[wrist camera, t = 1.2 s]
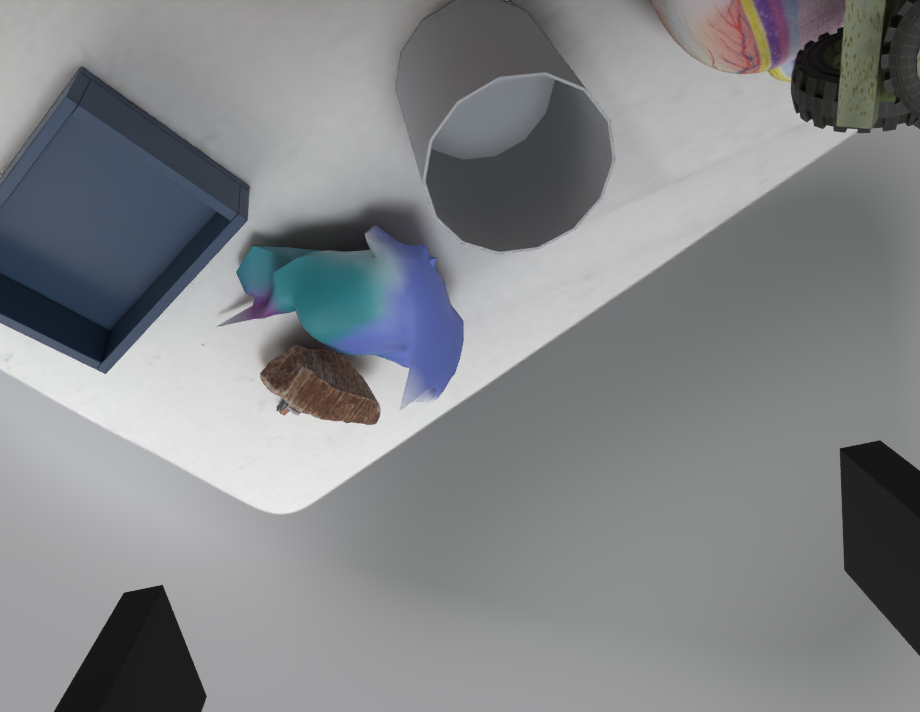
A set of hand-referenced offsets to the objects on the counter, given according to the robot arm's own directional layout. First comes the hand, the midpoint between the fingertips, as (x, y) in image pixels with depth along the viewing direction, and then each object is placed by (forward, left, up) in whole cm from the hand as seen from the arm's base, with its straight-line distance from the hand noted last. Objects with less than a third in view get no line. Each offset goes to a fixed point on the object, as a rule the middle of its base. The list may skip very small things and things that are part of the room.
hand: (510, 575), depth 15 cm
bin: (-4, -17, -31) cm, 36 cm away
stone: (+11, -16, -30) cm, 36 cm away
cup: (+6, +2, -31) cm, 32 cm away
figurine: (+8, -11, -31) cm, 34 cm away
